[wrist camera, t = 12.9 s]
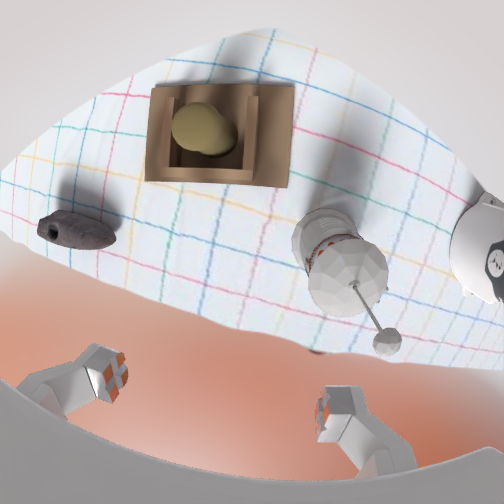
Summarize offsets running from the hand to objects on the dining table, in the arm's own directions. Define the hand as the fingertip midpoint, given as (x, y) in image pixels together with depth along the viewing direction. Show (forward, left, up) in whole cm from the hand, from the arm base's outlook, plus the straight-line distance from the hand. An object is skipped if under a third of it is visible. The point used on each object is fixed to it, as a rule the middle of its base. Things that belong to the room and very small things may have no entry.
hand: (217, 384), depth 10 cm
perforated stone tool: (+29, +2, -30) cm, 42 cm away
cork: (+7, -12, -29) cm, 32 cm away
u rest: (+7, -12, -30) cm, 33 cm away
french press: (-10, +2, -30) cm, 32 cm away
